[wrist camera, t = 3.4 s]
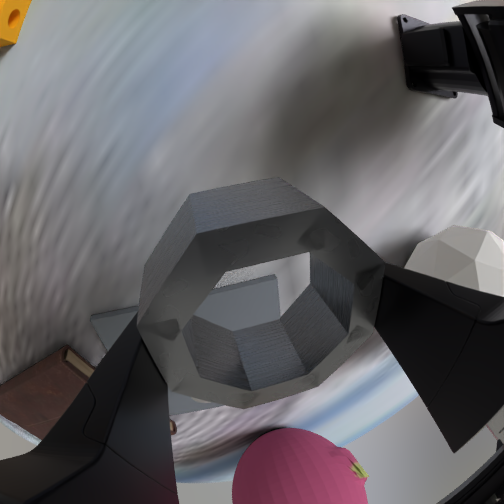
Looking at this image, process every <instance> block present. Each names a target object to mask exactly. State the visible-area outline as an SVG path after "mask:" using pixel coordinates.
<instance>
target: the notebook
mask: <svg viewBox="0 0 504 504" xmlns="http://www.w3.org/2000/svg"><path fill="white" fill-rule="evenodd" d="M95 369H96V368H95V367H93V366H92V365H91V364H90V363H88V362H87V361H86V360H85V359H84V358H82V357H81V356H80V355H79V354H78V353H77V352H75V351H74V350H73V349H72V348H71V347H70V346H69V345H66V346H65V347H63V348H61V349H60V350H58V351H56V352H55V353H53V354H51V355H50V356H48V357H46V358H45V359H43V360H41V361H40V362H38V363H36V364H35V365H33V366H32V367H30V368H28V369H27V370H25V371H23V372H22V373H20V374H19V375H17V376H15V377H14V378H12V379H10V380H9V381H7V382H6V383H4V384H2V385H1V386H0V414H1V415H2V416H3V417H5V418H6V419H8V420H10V421H12V422H14V423H16V424H17V425H19V426H20V427H22V428H23V429H25V430H26V431H28V432H30V433H31V434H33V435H34V436H36V437H38V438H39V439H41V440H43V438H44V437H45V436H46V435H47V433H48V432H49V431H50V430H51V428H52V427H53V426H54V425H55V423H56V422H57V421H58V420H59V418H60V417H61V416H62V415H63V413H64V412H65V411H66V409H67V408H68V407H69V406H70V404H71V403H72V401H73V400H74V399H75V397H76V396H77V394H78V393H79V392H80V390H81V389H82V387H83V386H84V384H85V383H87V380H88V379H89V377H90V376H91V374H92V373H93V372H94V370H95ZM170 431H171V435H174V434H176V432H177V427H176V424H175V422H174V421H172V420H170Z"/></svg>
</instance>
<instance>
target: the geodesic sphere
mask: <svg viewBox="0 0 504 504" xmlns="http://www.w3.org/2000/svg"><path fill="white" fill-rule="evenodd" d="M404 268H405V269H409V270H412V271H415V272H419V273H422V274H425V275H428V276H432V277H435V278H438V279H441V280H444V281H445V282H446V281H448V282H451V283H454V284H457V285H461V286H464V287H467V288H471V289H475V290H479V291H483V292H487V293H491V294H494V295H498V296H502V297H504V241H503V240H502V239H501V238H499V237H498V236H497V235H495V234H494V233H493V232H491V231H488V230H482V229H476V228H469V227H463V226H456V225H453V226H451V227H449V228H447V229H445V230H443V231H441V232H439V233H438V234H436V235H434V236H432V237H430V238H428V239H426V240H424V241H422V242H420V243H418V244H417V246H416V248H415V249H414V251H413V253H412V255H411V257H410V258H409V260H408V262H407V263H406V265H405V267H404Z"/></svg>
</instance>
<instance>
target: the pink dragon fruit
mask: <svg viewBox="0 0 504 504" xmlns="http://www.w3.org/2000/svg"><path fill="white" fill-rule="evenodd" d="M367 477H369V475H367V473H366V472H365V471H364V469H363V468H362V467H361V465H360V464H359V463H358V461H357V460H356V459H355V457H354V456H353V455H352V453H351V452H350V451H349V450H347V449H346V448H341V447H337V446H335V445H334V444H333V443H332V442H330V441H329V440H327V439H325V438H324V437H322V436H320V435H318V434H315V433H313V432H310V431H307V430H303V429H297V428H283V429H277V430H273V431H270V432H268V433H266V434H264V435H262V436H260V437H259V438H258V439H256V440H255V441H254V442H253V443H252V444H251V445H250V446H249V447H248V448H247V449H246V451H245V452H244V453H243V455H242V457H241V459H240V460H239V463H238V465H237V468H236V471H235V474H234V478H233V485H232V500H233V504H368V502H367V496H366V491H365V488H364V484H365V481H366V480H367Z"/></svg>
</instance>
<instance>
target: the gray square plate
mask: <svg viewBox="0 0 504 504" xmlns="http://www.w3.org/2000/svg"><path fill="white" fill-rule="evenodd" d="M138 309H139V306H135V307H130V308H126V309H121V310H116V311H111V312H106V313H101V314H96V315H91V319H90V322H91V323H92V325H93V327H94V329H95V331H96V332H97V334H98V336H99V337H100V339H101V341H102V343H103V344H104V346H105V347H106V349H107V351H109V349H110V348H111V346H112V345H113V344H114V342H115V341H116V340H117V338H118V337H119V336H120V334H121V333H122V332H123V330H124V329H125V328H126V326H127V325H128V324H129V322H130V321H131V320H132V318H133V317H134V316H135V314H136V313H137V312H138ZM193 315H196V316H198V317H200V318H203V319H205V320H207V321H210V322H212V323H214V324H217V325H219V326H222V327H224V328H226V329H229V330H231V331H236V330H240V329H244V328H247V327H251V326H255V325H259V324H263V323H266V322H270V321H274V320H277V319H280V318H281V317H280V305H279V293H278V281H277V277H276V276H275V274H274V275H270V276H266V277H262V278H258V279H254V280H250V281H246V282H241V283H237V284H233V285H229V286H225V287H220V288H216V289H212V290H211V292H210V293H209V294H208V296H207V297H206V298H205V300H204V301H203V302H202V304H201V305H200V306H199V308H198V309H197V310H196V312H195V313H194V314H193ZM168 401H169V416H170V415H177V414H183V413H189V412H194V411H200V410H205V409H210V408H215V407H219V406H224V405H222V404H217V403H213V402H209V401H204V400H200V399H197V398H193V397H189V396H185V395H182V394H178V393H175V392H171V390H170V388H169V386H168Z"/></svg>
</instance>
